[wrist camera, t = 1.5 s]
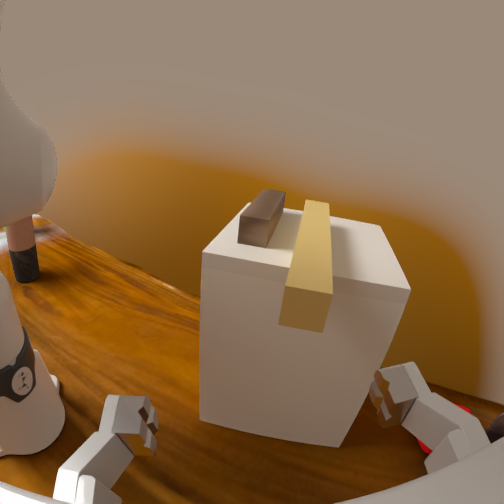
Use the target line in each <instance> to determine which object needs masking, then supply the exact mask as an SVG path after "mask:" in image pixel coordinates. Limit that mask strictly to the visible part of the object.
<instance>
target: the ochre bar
mask: <svg viewBox="0 0 504 504" xmlns="http://www.w3.org/2000/svg"><path fill="white" fill-rule="evenodd" d="M332 296H333V278H332V251H331V231H330V214H329V204H328V203H323V202H317V201H312V200H306V203H305V207H304V211H303V215H302V220H301V224H300V228H299V232H298V236H297V240H296V244H295V248H294V252H293V256H292V260H291V264H290V268H289V272H288V276H287V280H286V284H285V289H284V295H283V300H282V306H281V312H280V317H279V323H278V325H281V326H287V327H292V328H297V329H303V330H308V331H314V332H319V333H323V330H324V326H325V322H326V319H327V315H328V311H329V307H330V304H331V300H332Z"/></svg>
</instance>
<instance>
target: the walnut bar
mask: <svg viewBox="0 0 504 504" xmlns="http://www.w3.org/2000/svg"><path fill="white" fill-rule="evenodd" d="M285 193H286V192H282V191H275V190H269V189H264V190H263V191H262V192H261V193H260V194H259V195H258V196H257V197H256V198H255V200H254V201H253V202H252V203H251V204H250V205H249V206H248V207H247V208H246V209H245V210H244V211H243V212H242V214H241V215H240V219H239V230H238V240H237V243H238V244H244V245H250V246H255V247H261V248H266V247H267V245H268V243H269V241H270V239H271V237H272V235H273V233H274V230H275V228H276V226H277V224H278V222H279V220H280V218H281V216H282V213H283V208H284V201H285Z"/></svg>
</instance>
